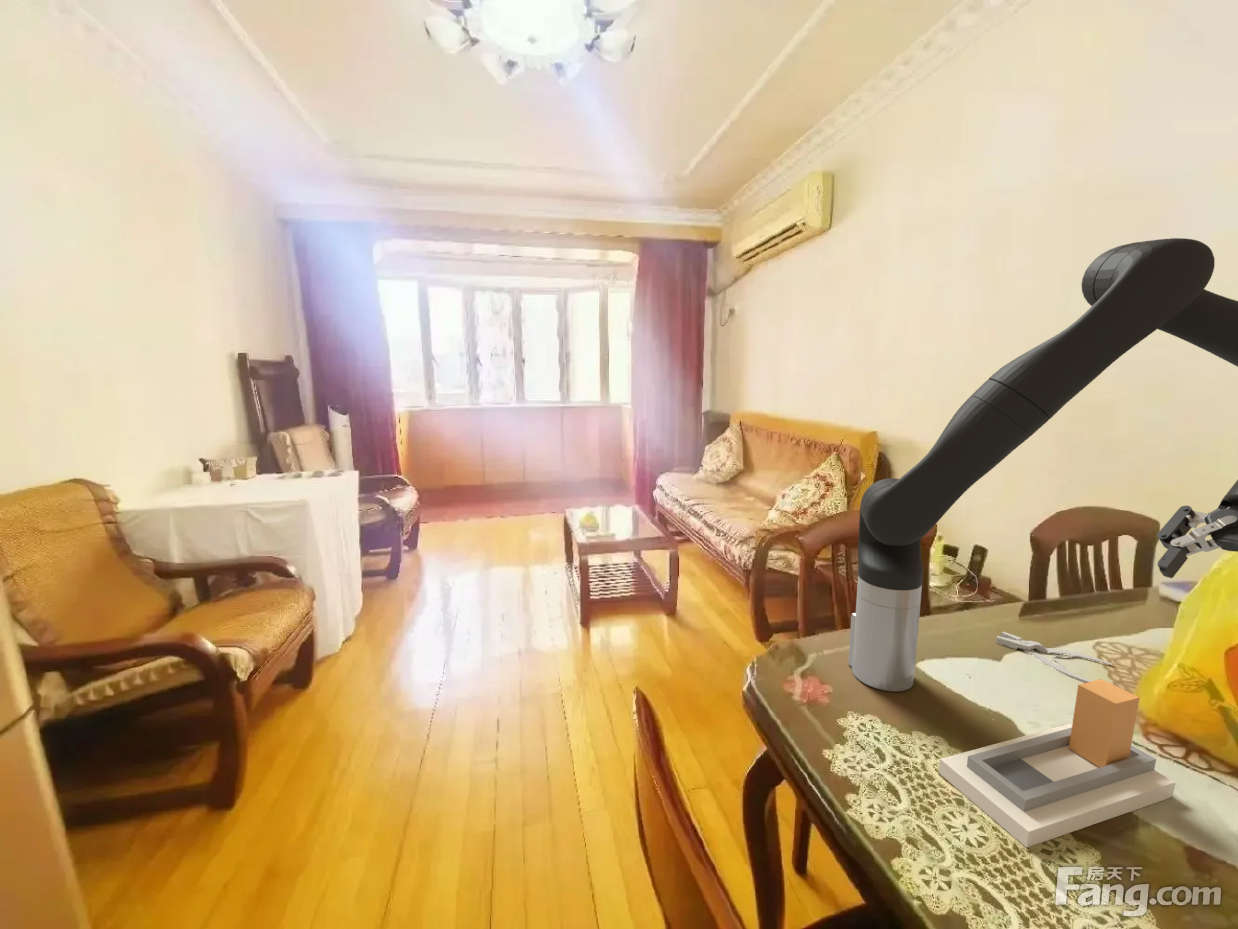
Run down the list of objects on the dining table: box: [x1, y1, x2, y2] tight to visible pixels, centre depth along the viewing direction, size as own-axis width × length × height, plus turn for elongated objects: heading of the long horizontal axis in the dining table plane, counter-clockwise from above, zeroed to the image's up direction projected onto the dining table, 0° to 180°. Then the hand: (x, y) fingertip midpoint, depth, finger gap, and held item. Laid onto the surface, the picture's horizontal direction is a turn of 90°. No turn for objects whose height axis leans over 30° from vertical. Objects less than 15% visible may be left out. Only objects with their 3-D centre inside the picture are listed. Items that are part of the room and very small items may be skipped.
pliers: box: [995, 631, 1113, 683], centre depth 91 cm, size 10×2×15 cm
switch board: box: [938, 722, 1176, 848], centre depth 63 cm, size 11×23×4 cm, turn 106°
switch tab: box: [1069, 678, 1140, 767], centre depth 64 cm, size 4×4×9 cm
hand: (1206, 585), depth 65 cm, fingers open, 8 cm apart
